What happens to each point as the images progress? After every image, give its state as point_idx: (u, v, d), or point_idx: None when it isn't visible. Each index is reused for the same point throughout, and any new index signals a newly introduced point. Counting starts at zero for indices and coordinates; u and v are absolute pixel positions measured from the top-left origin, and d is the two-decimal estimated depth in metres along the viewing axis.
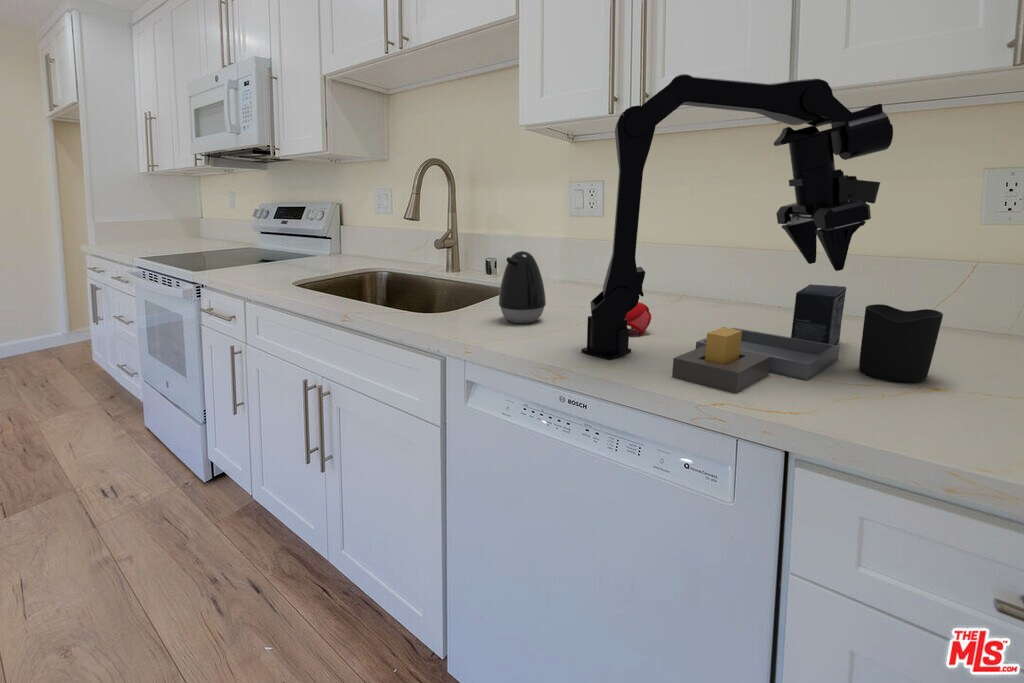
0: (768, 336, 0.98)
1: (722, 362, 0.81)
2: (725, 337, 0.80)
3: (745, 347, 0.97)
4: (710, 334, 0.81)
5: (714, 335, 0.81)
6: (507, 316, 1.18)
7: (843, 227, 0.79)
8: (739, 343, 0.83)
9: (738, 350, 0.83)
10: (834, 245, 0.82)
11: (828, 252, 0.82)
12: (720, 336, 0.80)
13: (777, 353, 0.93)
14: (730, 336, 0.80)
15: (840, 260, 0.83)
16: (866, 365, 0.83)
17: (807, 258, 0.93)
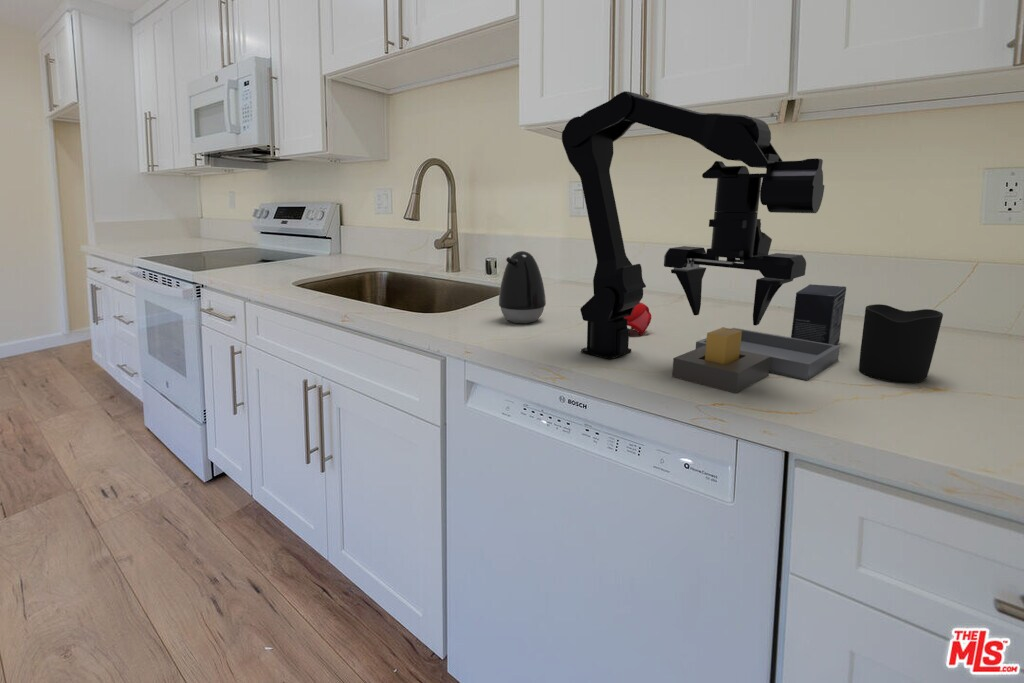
0: (768, 336, 0.98)
1: (722, 362, 0.81)
2: (725, 337, 0.80)
3: (745, 347, 0.97)
4: (710, 334, 0.81)
5: (714, 335, 0.81)
6: (507, 316, 1.18)
7: (786, 280, 0.74)
8: (739, 343, 0.83)
9: (738, 350, 0.83)
10: (765, 298, 0.76)
11: (760, 305, 0.76)
12: (720, 336, 0.80)
13: (777, 353, 0.93)
14: (730, 336, 0.80)
15: (762, 314, 0.78)
16: (866, 365, 0.83)
17: (695, 309, 0.84)
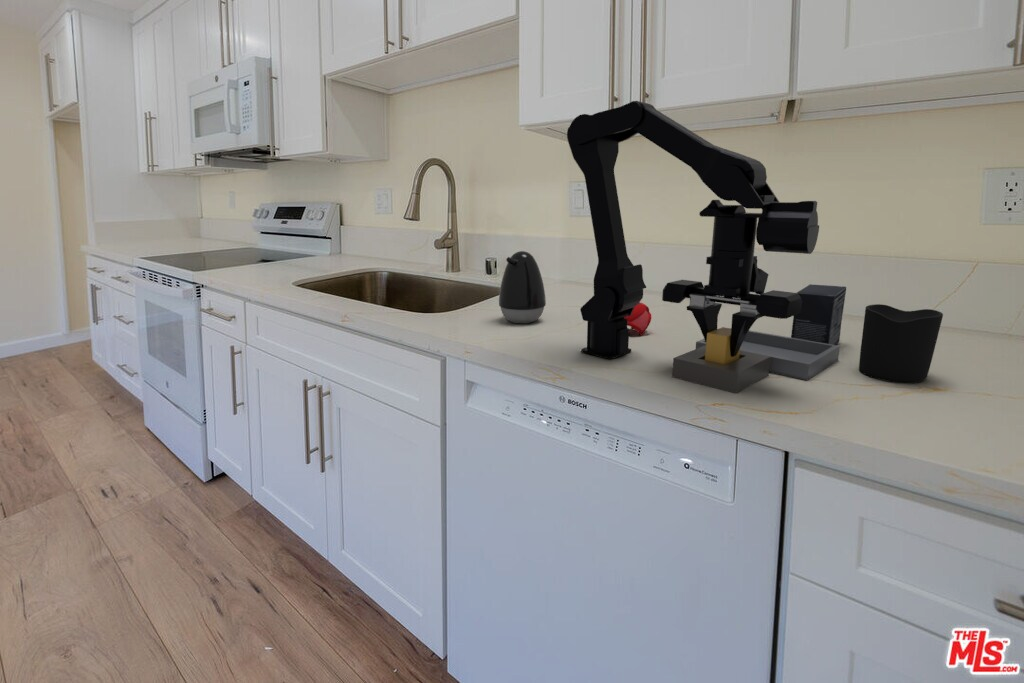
0: (768, 336, 0.98)
1: (722, 362, 0.81)
2: (725, 337, 0.80)
3: (745, 347, 0.97)
4: (710, 334, 0.81)
5: (714, 335, 0.81)
6: (507, 316, 1.18)
7: (760, 314, 0.77)
8: None
9: None
10: (742, 331, 0.79)
11: (737, 338, 0.79)
12: (720, 336, 0.80)
13: (777, 353, 0.93)
14: (730, 336, 0.80)
15: (738, 346, 0.81)
16: (866, 365, 0.83)
17: None
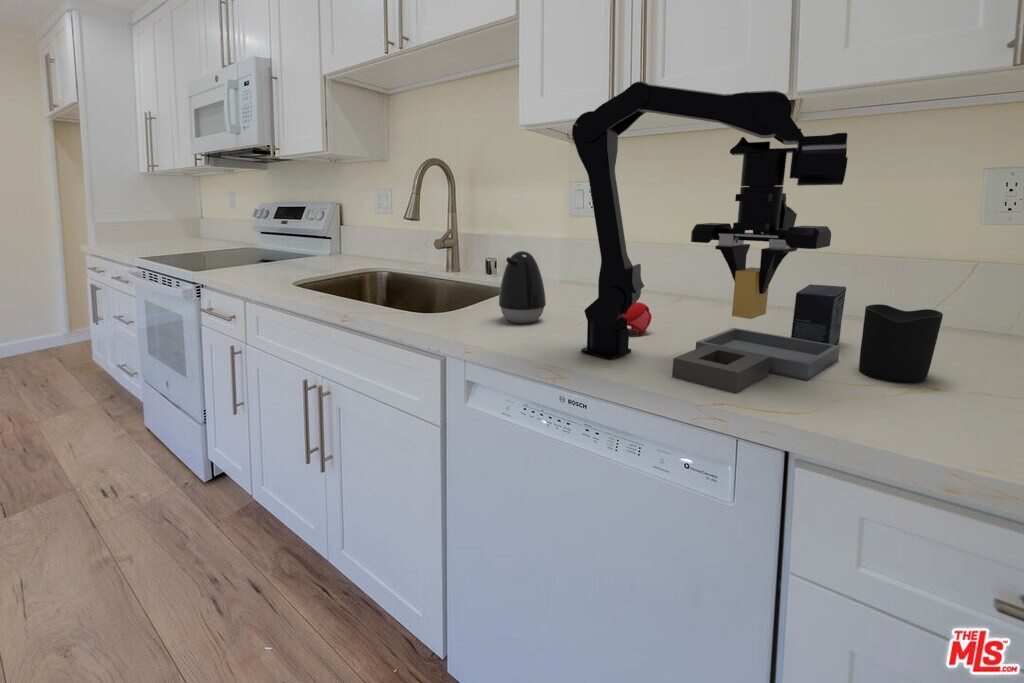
0: (768, 336, 0.98)
1: (751, 298, 0.82)
2: (754, 273, 0.81)
3: (745, 347, 0.97)
4: (739, 271, 0.83)
5: (743, 272, 0.82)
6: (507, 316, 1.18)
7: (789, 249, 0.79)
8: None
9: (767, 288, 0.84)
10: (770, 267, 0.81)
11: (766, 273, 0.80)
12: (749, 272, 0.81)
13: (777, 353, 0.93)
14: (759, 272, 0.82)
15: (767, 283, 0.82)
16: (866, 365, 0.83)
17: None
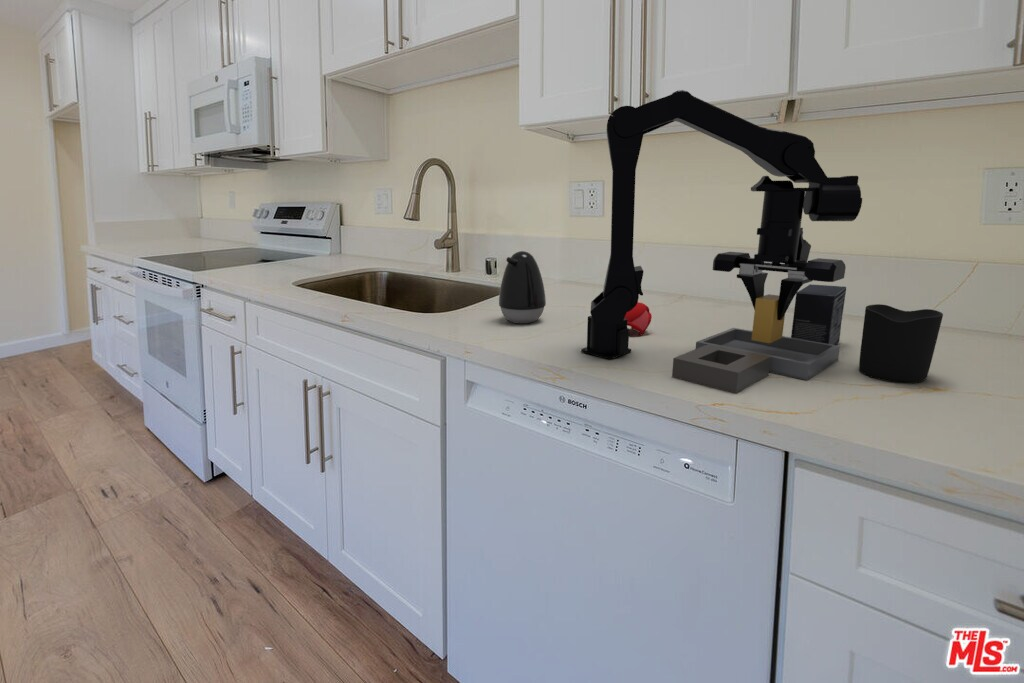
0: None
1: (770, 324, 0.88)
2: (773, 301, 0.87)
3: (745, 347, 0.97)
4: (759, 299, 0.89)
5: (763, 300, 0.88)
6: (507, 316, 1.18)
7: (807, 280, 0.85)
8: None
9: None
10: (789, 296, 0.87)
11: (784, 302, 0.87)
12: (769, 300, 0.88)
13: (777, 353, 0.93)
14: (778, 300, 0.88)
15: (785, 310, 0.89)
16: (866, 365, 0.83)
17: None
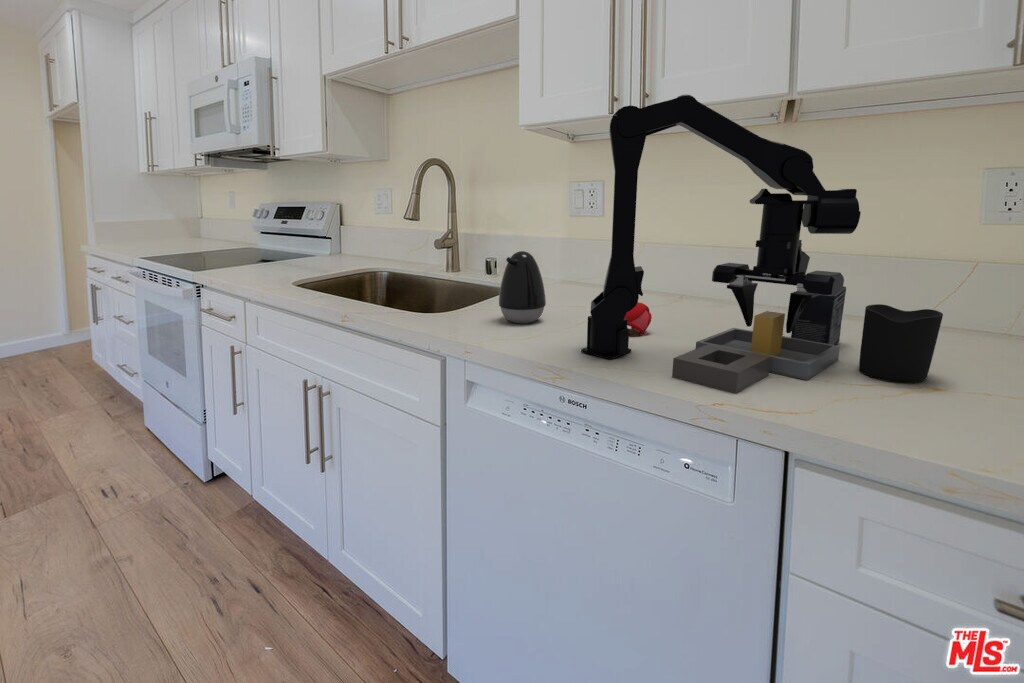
0: None
1: (769, 342, 0.89)
2: (772, 319, 0.88)
3: (745, 347, 0.97)
4: (757, 316, 0.90)
5: (761, 317, 0.89)
6: (507, 316, 1.18)
7: (816, 293, 0.85)
8: (782, 325, 0.91)
9: (782, 331, 0.92)
10: None
11: (793, 315, 0.86)
12: (767, 318, 0.89)
13: None
14: (776, 318, 0.89)
15: (794, 323, 0.88)
16: (866, 365, 0.83)
17: (749, 321, 0.93)
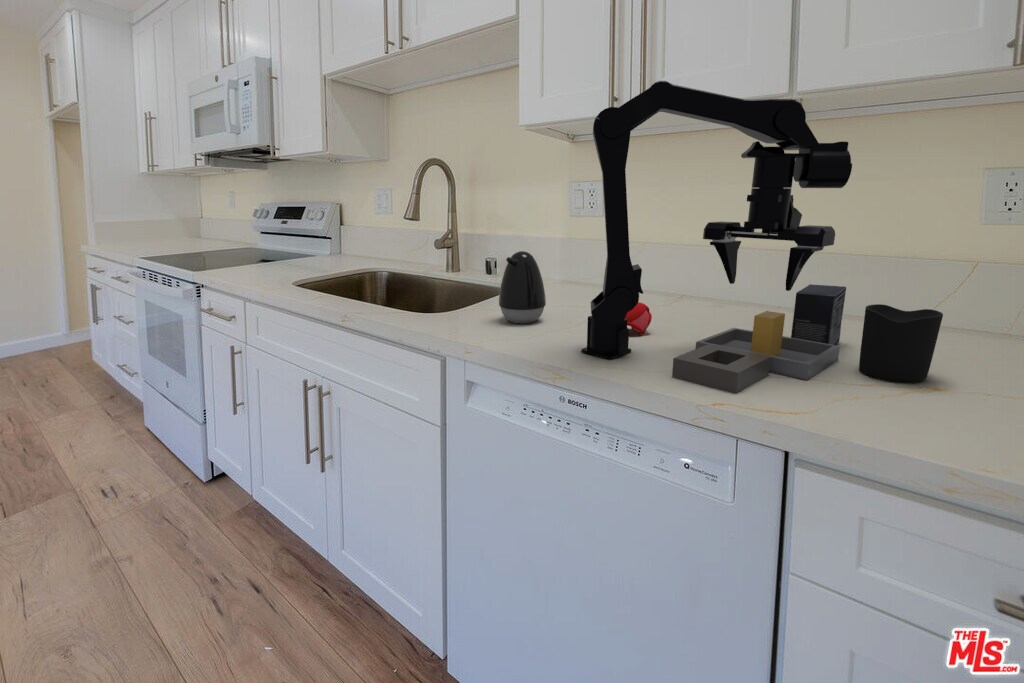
0: None
1: (769, 342, 0.89)
2: (772, 319, 0.88)
3: (745, 347, 0.97)
4: (757, 316, 0.90)
5: (761, 317, 0.89)
6: (507, 316, 1.18)
7: (817, 248, 0.83)
8: (782, 325, 0.91)
9: (782, 331, 0.92)
10: (798, 265, 0.85)
11: (793, 271, 0.84)
12: (767, 318, 0.89)
13: None
14: (776, 318, 0.89)
15: (794, 281, 0.86)
16: (866, 365, 0.83)
17: (731, 278, 0.93)
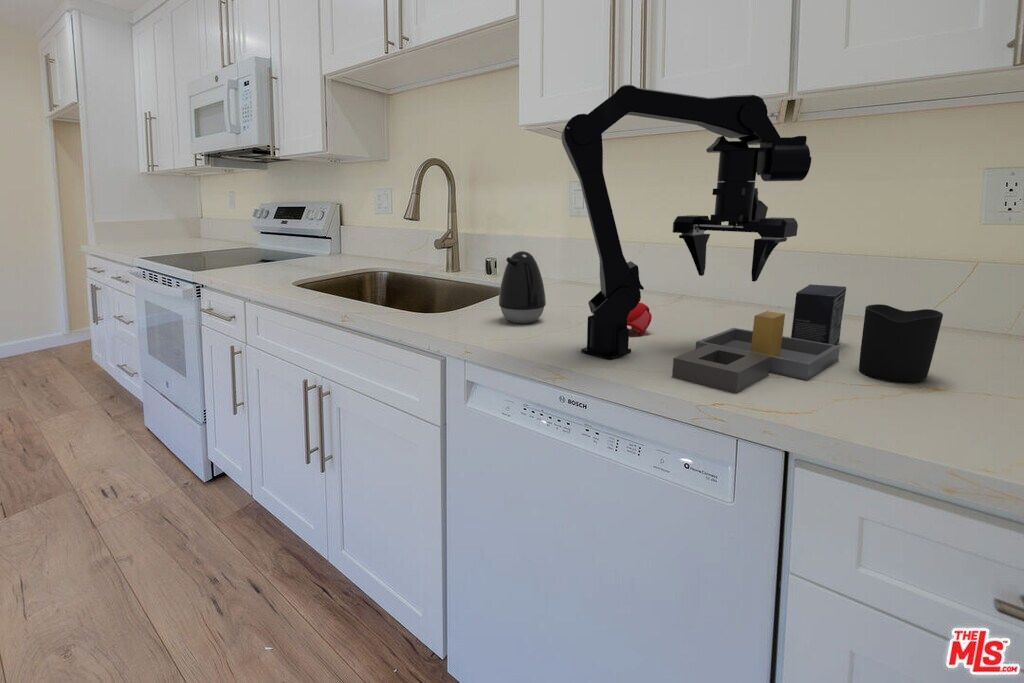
0: None
1: (769, 342, 0.89)
2: (772, 319, 0.88)
3: (745, 347, 0.97)
4: (757, 316, 0.90)
5: (761, 317, 0.89)
6: (507, 316, 1.18)
7: (780, 239, 0.85)
8: (782, 325, 0.91)
9: (782, 331, 0.92)
10: (762, 256, 0.87)
11: (758, 262, 0.87)
12: (767, 318, 0.89)
13: None
14: (776, 318, 0.89)
15: (759, 271, 0.89)
16: (866, 365, 0.83)
17: (701, 270, 0.95)
